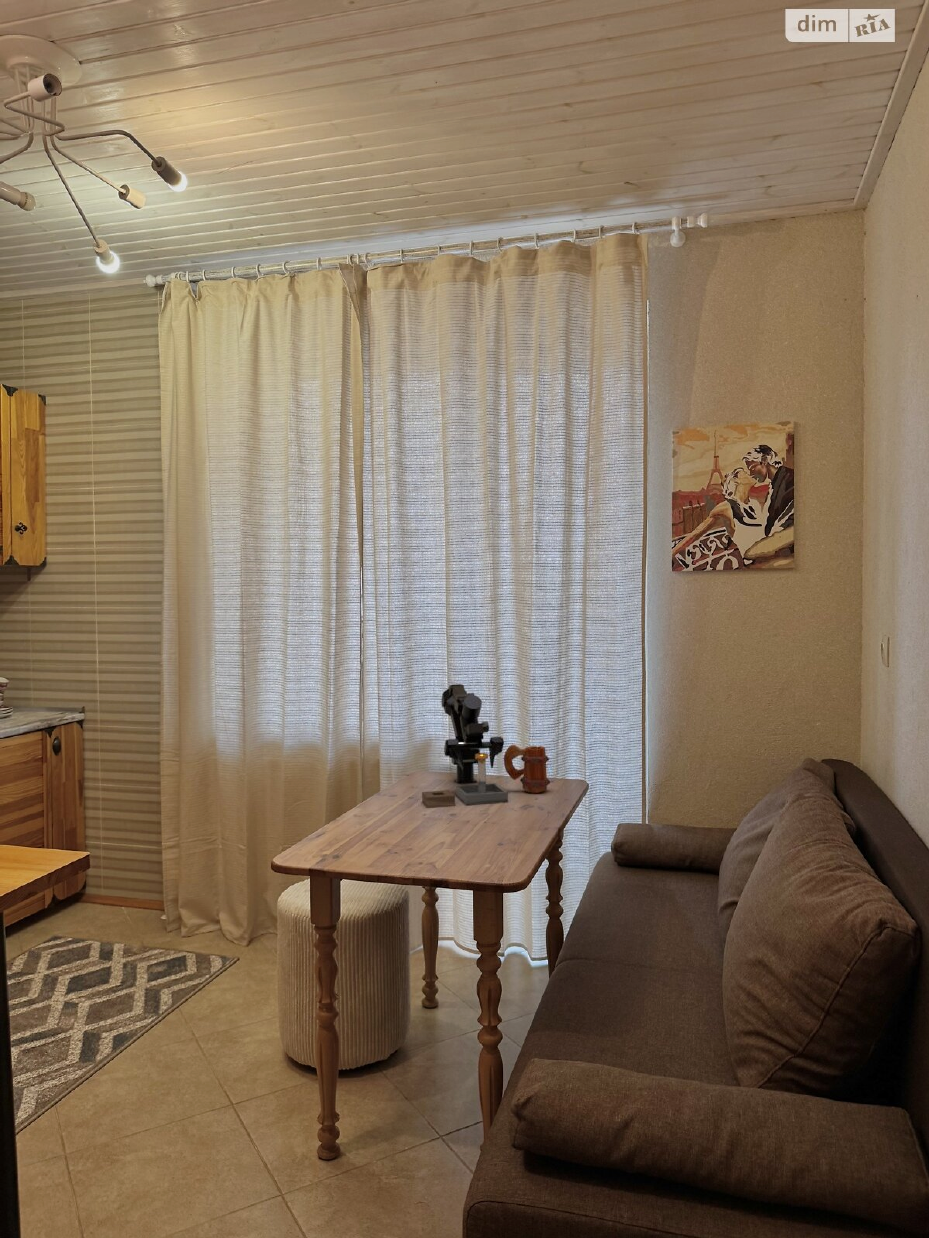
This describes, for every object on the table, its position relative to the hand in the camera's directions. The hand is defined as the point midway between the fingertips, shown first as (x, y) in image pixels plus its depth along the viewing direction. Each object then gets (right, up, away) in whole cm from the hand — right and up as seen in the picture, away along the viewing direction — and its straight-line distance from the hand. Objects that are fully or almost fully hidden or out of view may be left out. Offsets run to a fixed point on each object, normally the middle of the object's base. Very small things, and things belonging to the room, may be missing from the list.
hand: (478, 768), depth 286 cm
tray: (+1, -9, -4) cm, 10 cm away
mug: (+16, -8, +5) cm, 19 cm away
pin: (+1, -8, -5) cm, 10 cm away
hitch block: (-12, -9, -9) cm, 18 cm away
